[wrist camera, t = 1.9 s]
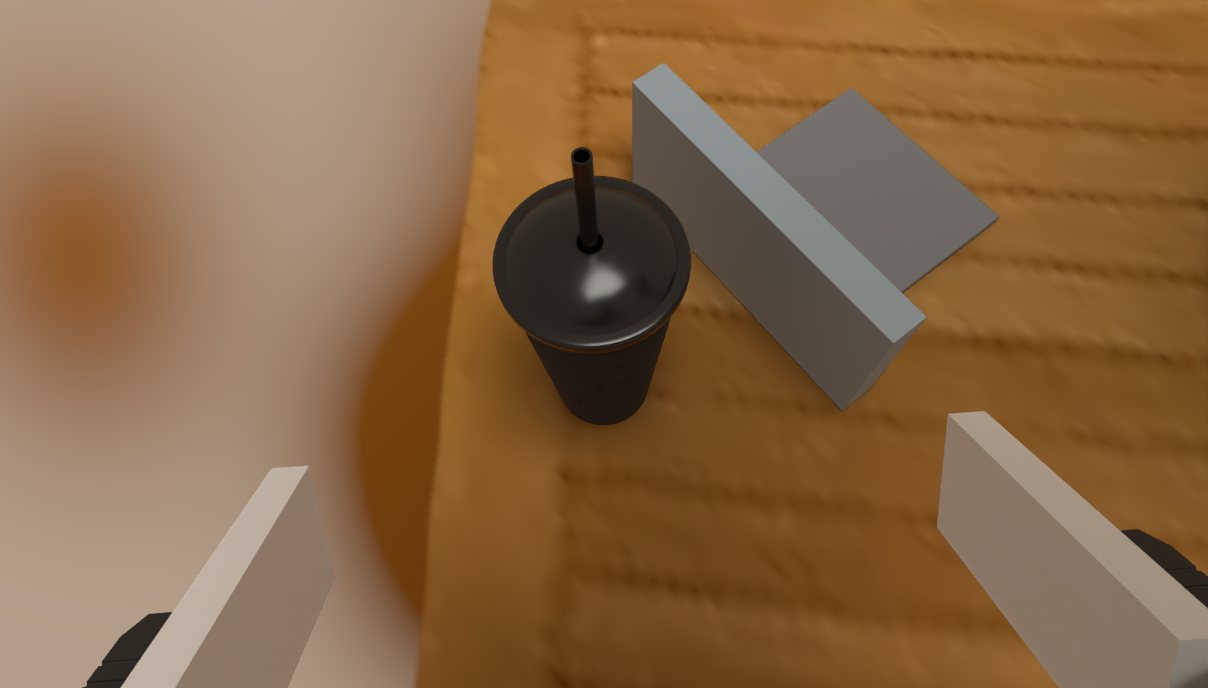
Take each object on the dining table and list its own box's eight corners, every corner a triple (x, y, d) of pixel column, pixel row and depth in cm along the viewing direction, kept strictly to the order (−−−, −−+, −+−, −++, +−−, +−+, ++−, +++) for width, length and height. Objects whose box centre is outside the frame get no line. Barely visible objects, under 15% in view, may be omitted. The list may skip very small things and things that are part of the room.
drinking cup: (510, 354, 44) (422, 115, 26) (633, 297, 45) (634, 28, 27) (570, 476, 41) (520, 305, 23) (699, 411, 42) (751, 199, 24)
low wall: (658, 169, 48) (663, 62, 40) (869, 389, 42) (927, 317, 34) (632, 186, 48) (632, 82, 40) (841, 411, 42) (893, 343, 34)
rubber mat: (849, 94, 50) (851, 87, 50) (995, 222, 46) (999, 216, 46) (702, 193, 48) (703, 187, 47) (843, 338, 44) (846, 333, 43)
